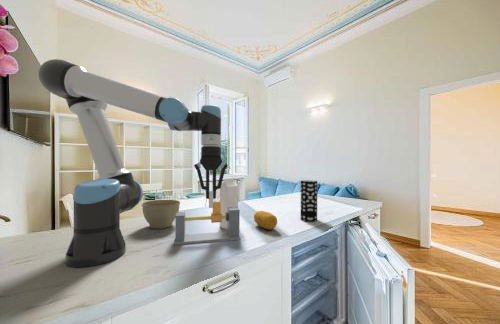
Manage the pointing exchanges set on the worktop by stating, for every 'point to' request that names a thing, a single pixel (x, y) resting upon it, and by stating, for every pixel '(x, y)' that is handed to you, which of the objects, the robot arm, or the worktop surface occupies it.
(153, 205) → the planter bowl
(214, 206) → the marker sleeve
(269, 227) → the potato
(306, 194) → the white-spotted black cylinder
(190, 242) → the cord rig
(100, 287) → the worktop surface
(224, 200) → the milk
